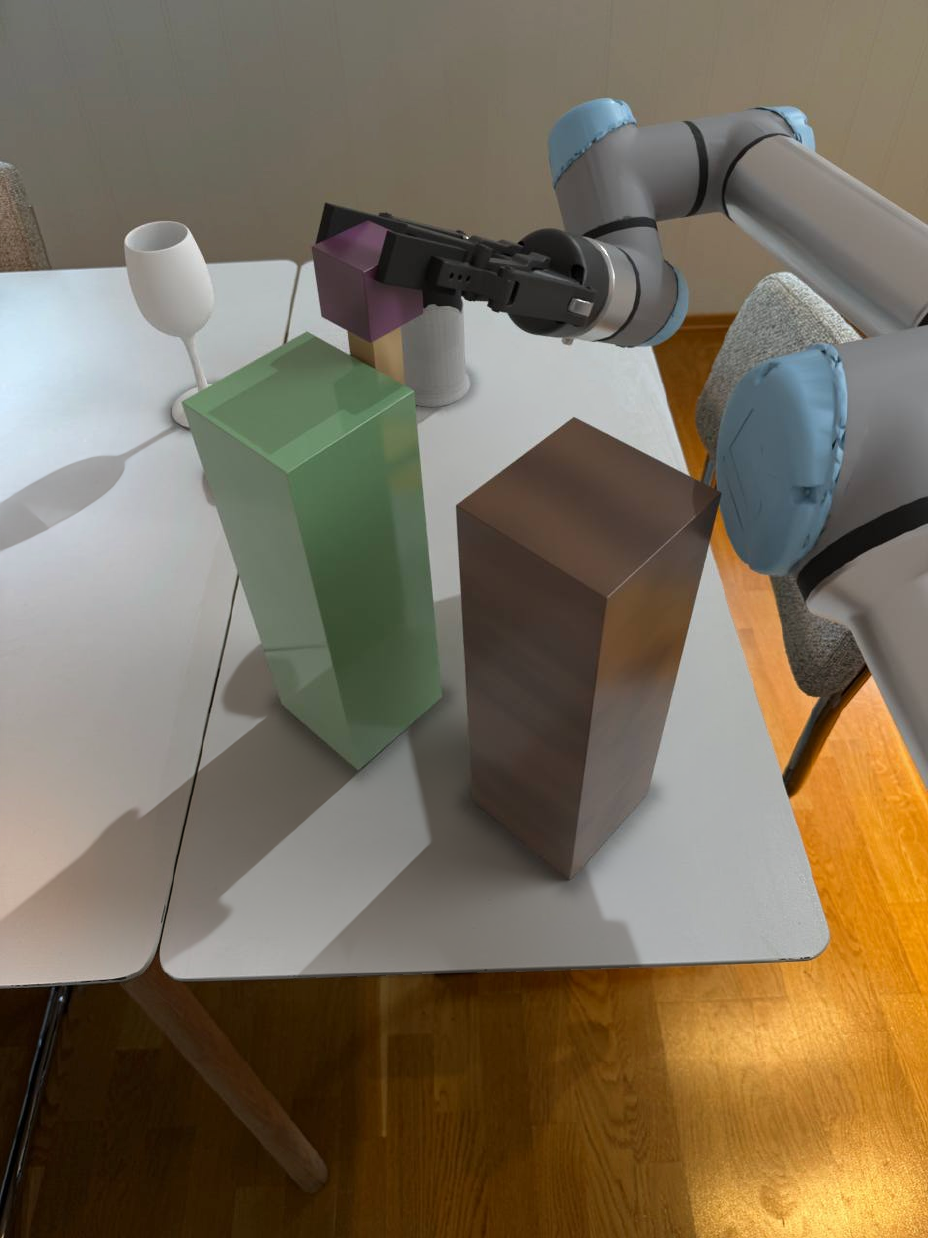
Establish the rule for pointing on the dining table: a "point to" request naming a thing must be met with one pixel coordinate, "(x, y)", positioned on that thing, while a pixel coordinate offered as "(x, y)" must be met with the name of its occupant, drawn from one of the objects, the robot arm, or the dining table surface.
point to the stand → (575, 632)
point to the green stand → (327, 536)
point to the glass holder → (436, 351)
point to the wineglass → (171, 289)
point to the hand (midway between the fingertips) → (354, 242)
